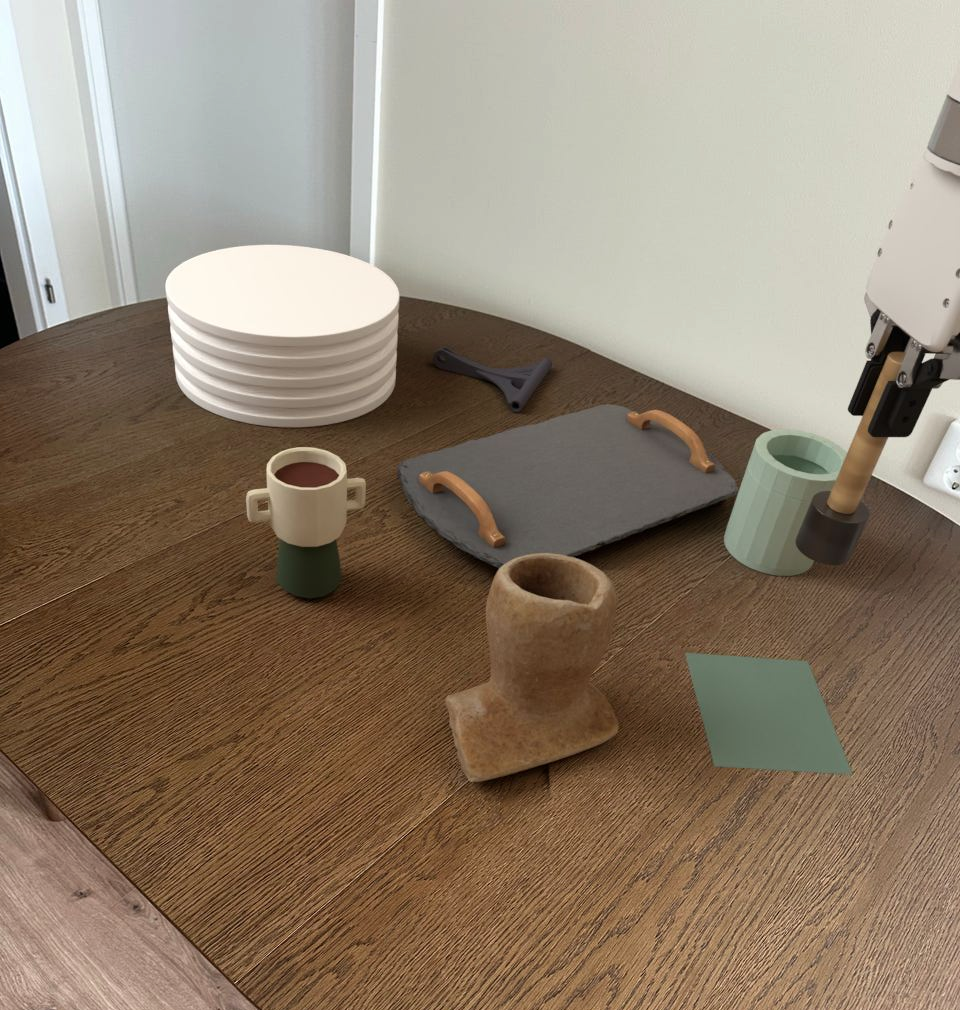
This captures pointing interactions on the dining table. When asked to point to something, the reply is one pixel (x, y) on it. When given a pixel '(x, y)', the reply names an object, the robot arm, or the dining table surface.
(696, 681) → the mat
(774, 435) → the jar
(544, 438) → the serving tray
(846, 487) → the wood and black rod
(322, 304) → the plate stack
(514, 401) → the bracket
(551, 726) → the stone cup
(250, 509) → the character mug
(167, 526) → the dining table surface
